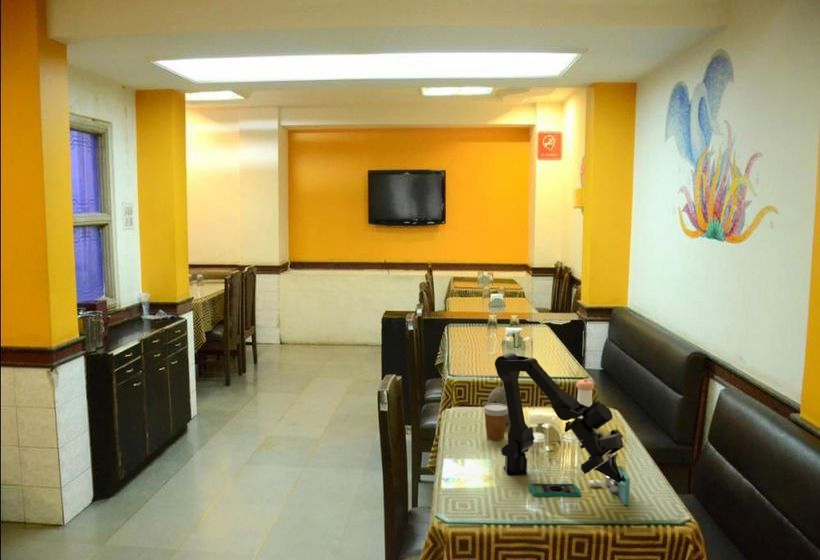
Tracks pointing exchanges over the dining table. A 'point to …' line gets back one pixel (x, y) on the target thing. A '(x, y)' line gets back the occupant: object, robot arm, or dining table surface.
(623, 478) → the light blue tilted panel
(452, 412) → the dining table surface
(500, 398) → the decorative egg
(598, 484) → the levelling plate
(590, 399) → the pepper shaker
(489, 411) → the disposable coffee cup
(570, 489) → the digital multimeter
